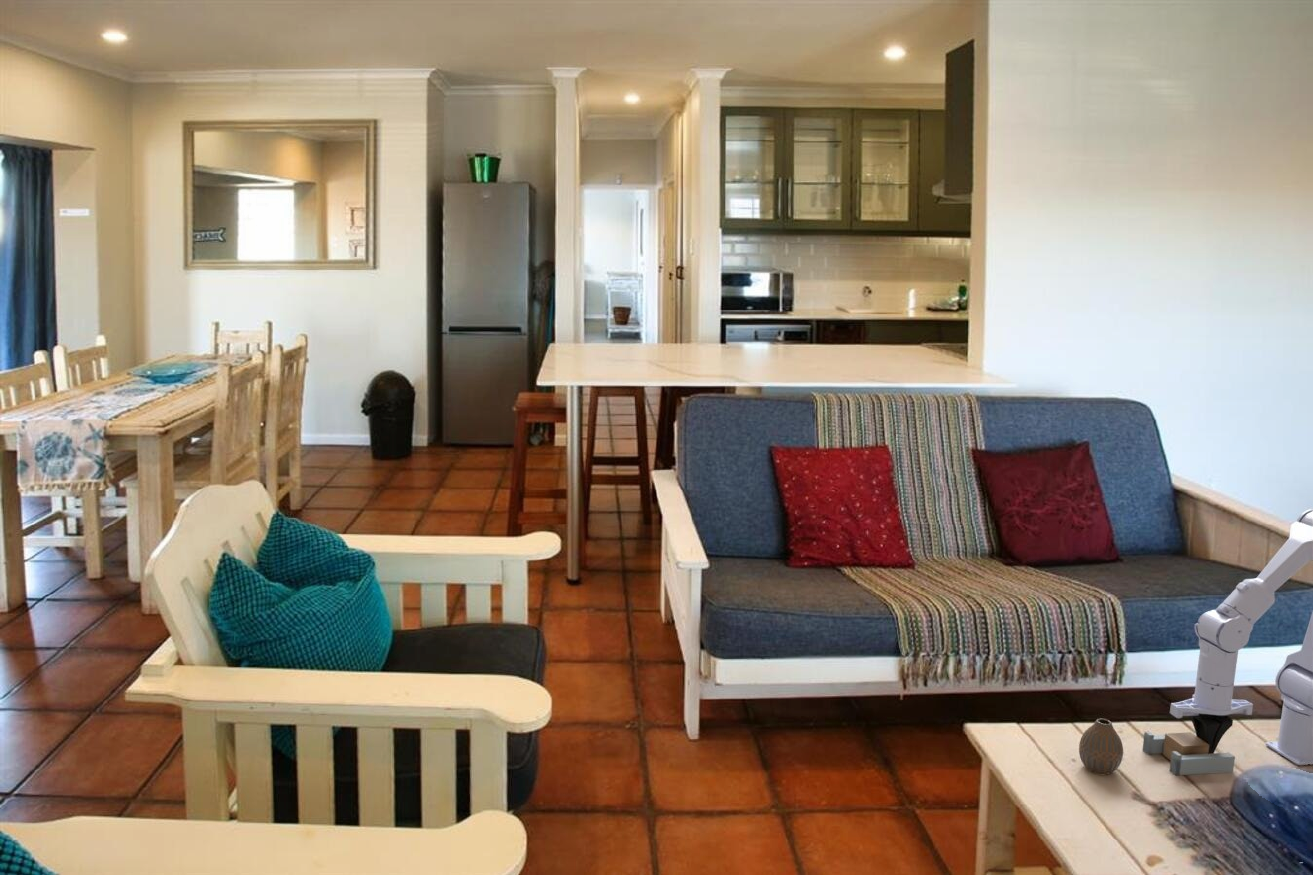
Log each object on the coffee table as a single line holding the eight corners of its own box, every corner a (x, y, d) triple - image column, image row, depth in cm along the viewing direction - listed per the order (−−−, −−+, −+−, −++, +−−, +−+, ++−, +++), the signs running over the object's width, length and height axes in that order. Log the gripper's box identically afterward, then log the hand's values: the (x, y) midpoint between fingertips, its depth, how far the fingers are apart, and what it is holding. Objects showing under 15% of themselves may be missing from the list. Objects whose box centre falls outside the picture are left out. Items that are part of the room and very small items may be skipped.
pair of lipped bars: (1197, 747, 183) (1200, 728, 183) (1233, 771, 175) (1235, 752, 174) (1142, 750, 182) (1144, 731, 181) (1175, 775, 173) (1177, 755, 172)
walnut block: (1188, 753, 181) (1190, 732, 180) (1206, 766, 176) (1209, 745, 175) (1162, 754, 180) (1165, 733, 179) (1180, 768, 175) (1183, 746, 175)
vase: (1112, 761, 177) (1118, 714, 176) (1126, 780, 171) (1132, 732, 169) (1072, 758, 178) (1076, 711, 177) (1084, 777, 171) (1089, 729, 170)
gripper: (1236, 669, 181) (1226, 740, 184) (1162, 672, 179) (1154, 744, 181) (1265, 685, 174) (1255, 759, 177) (1189, 688, 172) (1180, 763, 174)
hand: (1205, 752), depth 178 cm, fingers closed
